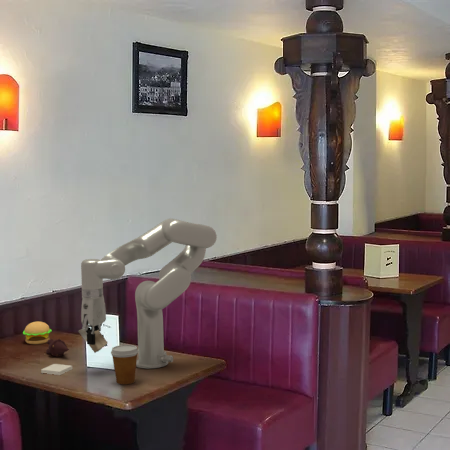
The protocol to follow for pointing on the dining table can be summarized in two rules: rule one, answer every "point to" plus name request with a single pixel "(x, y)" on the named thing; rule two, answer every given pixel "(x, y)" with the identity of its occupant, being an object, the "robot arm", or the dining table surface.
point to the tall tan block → (99, 340)
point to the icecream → (56, 347)
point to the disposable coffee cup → (125, 363)
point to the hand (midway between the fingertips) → (93, 342)
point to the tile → (56, 369)
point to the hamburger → (37, 333)
